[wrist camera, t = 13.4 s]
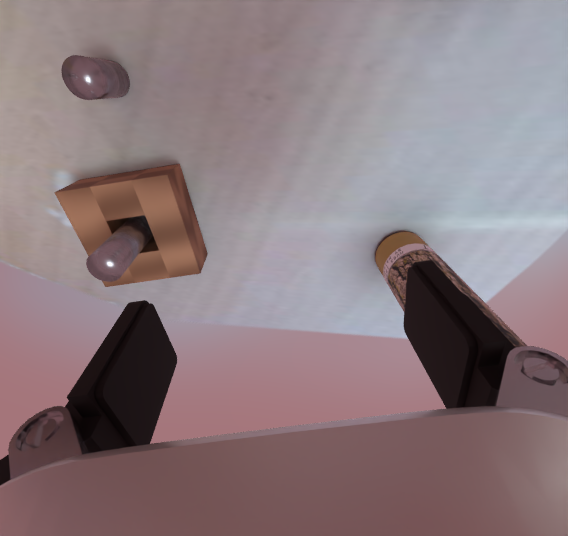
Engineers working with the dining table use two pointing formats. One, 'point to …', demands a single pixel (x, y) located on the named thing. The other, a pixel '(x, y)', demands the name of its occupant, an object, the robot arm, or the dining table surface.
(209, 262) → the dining table surface
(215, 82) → the dining table surface
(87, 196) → the walnut block
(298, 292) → the dining table surface
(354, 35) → the dining table surface
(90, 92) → the mauve rounded capsule
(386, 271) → the brown bark cylinder
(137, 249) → the grey tall cylinder
